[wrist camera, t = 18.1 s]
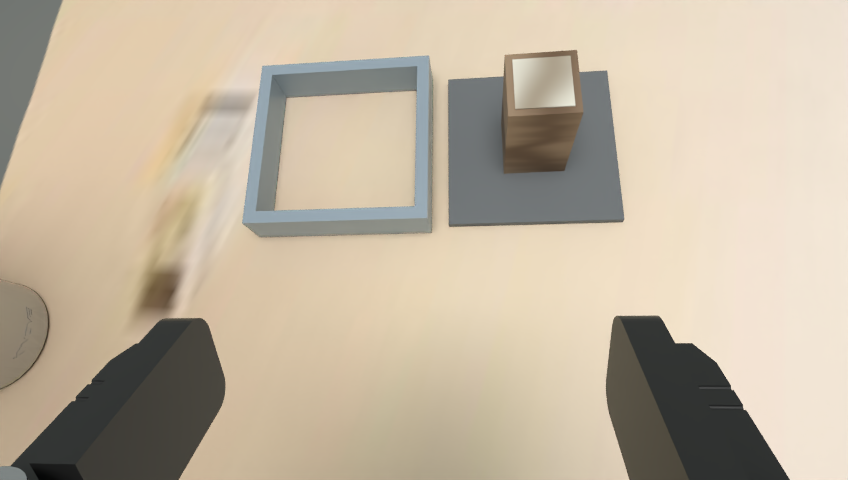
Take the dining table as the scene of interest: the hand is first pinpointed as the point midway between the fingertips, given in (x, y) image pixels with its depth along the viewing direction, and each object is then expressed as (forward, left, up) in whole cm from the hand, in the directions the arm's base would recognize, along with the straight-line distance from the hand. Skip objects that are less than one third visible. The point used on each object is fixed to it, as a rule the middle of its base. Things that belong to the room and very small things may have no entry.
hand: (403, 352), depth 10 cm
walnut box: (+6, +21, -30) cm, 37 cm away
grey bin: (-10, +21, -31) cm, 38 cm away
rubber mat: (+6, +21, -31) cm, 37 cm away
